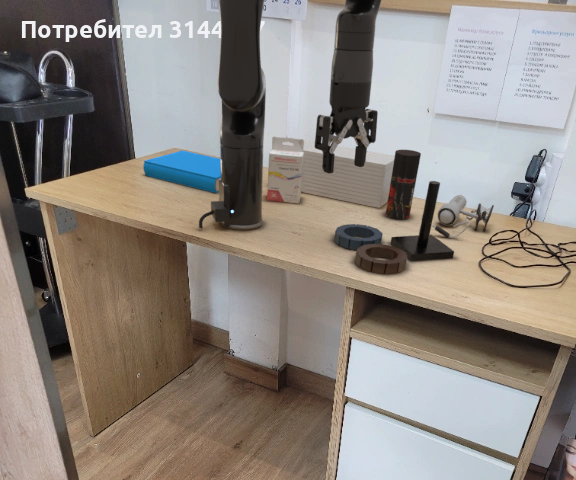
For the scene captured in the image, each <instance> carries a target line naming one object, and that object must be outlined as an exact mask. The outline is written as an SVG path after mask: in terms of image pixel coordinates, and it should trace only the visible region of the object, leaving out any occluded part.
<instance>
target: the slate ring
mask: <svg viewBox="0 0 576 480" xmlns="http://www.w3.org/2000/svg"><path fill="white" fill-rule="evenodd" d="M383 235H384V234H383V232H382V231H381V230H379V229H378V228H376V227H374V226H371V225H367V224H361V223H357V224H356V223H349V224H342V225H339V226H337V227H336V229H335V232H334V238H333V239H334V242H335V243H336V244H337V245H338V247H342V248H345V249H347V250H348V249H349V250H352V251H357V249H358V247H361V246H363V245H367V244H382V241H383Z"/></svg>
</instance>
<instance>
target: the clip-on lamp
mask: <svg viewBox="0 0 576 480" xmlns="http://www.w3.org/2000/svg"><path fill="white" fill-rule="evenodd" d="M467 203H468V202H467V198H466V196H465V195H462V194H457V195H455V196H453V197H452V199H450V200H449V202H448V203H445V204H442V205H441V206H440V208H439V209H438V211H437V220H438V222H439V223H440V224H441V225H443V226H446V227H447V226H452V225H453V227H455V228H456V227H458V226H461V225H464V224H467V225H466V227H465V228H464V229H463V230H462V231H460V232H459V233H458V234H456V235H454V236H452V235H451V233H450V232H448V231H446V230H445V229H443V228H442V227H441V226H439V225H431V227H433V228H434V230H435V231H436V232H438V233H439V234H441V236H444V237H445V238H446V239H448V238H450V239H451V238H452V239H454V238H456V237H459V236H460V235H462V233H464V232H465V231H466V230H467V229H468V228H469V226H470V224H471V222H470V221H471V220H473V219H475V227H474V231H475V232H476V231H477V230H478V227H479V223H480V222H481V221H483V223H484V226H483V230H482V232H486V228H487V225H488V224H489V221H490V218H491V216H492V213H493V210H494V207H495V205H494V204H492V205H491V206H490V207H487V208H485V207H484V205H482V204H481V203H478V206H477V208H476V209H472V210H471V211H468V210H464V209H465V207H467V206H466V205H467ZM460 214H462V215H463V216H465V218H464V220H463V221H461V222H458V221H459V218H460Z"/></svg>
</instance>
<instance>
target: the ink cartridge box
mask: <svg viewBox="0 0 576 480" xmlns="http://www.w3.org/2000/svg"><path fill="white" fill-rule="evenodd" d="M304 140H305V139H303V138H294V137H285V136H284V137H283V136H272V138H271V149H270V151H269V153H268V166H267V167H268V168H267V169H268V170H267V171H268V172H267V191H266V193H267V194H266V200H267V201H268V202H269V201H270V202H281V203H288V204H289V203H290V204H291V203H292V204H300V200H301V195H302V192H301V185H302V171H303V158H304V152H303V146H304ZM287 141H288V142H290V143H293V146H291V145H283V144H282V143H283V142H287Z"/></svg>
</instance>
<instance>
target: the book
mask: <svg viewBox="0 0 576 480" xmlns="http://www.w3.org/2000/svg"><path fill="white" fill-rule="evenodd" d="M143 173H144V175H145V176H146V177H150V178H154V179H158V180H163V181H166V182H171V183H175V184H179V185H183V186H186V187H190V188H194V189H199V190H202V191H206V192H211V193H215V194H217V193H218V194H219V178H221V158H219V157H215V156H210V155H206V154H200V153H195V152H193V151H192V152H191V151H188V150H178V151H175V152H172V153H168V154H167V153H166V154H163V155H160V156H156V157H153V158H150V159H145V160H143Z"/></svg>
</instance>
